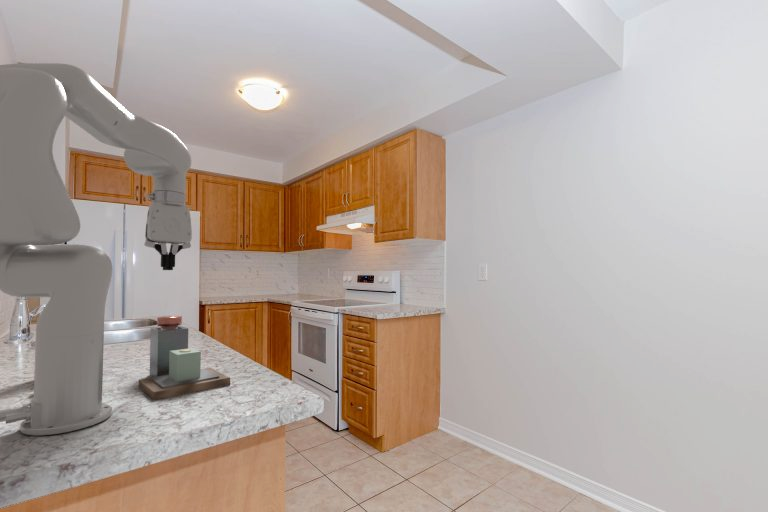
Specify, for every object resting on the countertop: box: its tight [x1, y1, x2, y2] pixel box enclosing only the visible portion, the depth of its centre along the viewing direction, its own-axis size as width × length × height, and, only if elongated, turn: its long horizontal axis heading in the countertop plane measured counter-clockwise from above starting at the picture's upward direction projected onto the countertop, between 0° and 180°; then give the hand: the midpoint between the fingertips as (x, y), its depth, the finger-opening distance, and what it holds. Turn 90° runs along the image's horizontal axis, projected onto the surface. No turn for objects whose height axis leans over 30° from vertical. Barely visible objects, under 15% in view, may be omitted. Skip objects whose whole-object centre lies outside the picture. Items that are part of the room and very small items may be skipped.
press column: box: [149, 325, 189, 377], centre depth 100 cm, size 7×7×12 cm
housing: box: [169, 347, 202, 382], centre depth 90 cm, size 5×6×6 cm
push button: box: [156, 315, 183, 331], centre depth 100 cm, size 6×6×9 cm
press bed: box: [138, 367, 231, 401], centre depth 90 cm, size 16×13×2 cm
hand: (167, 269), depth 101 cm, fingers closed
